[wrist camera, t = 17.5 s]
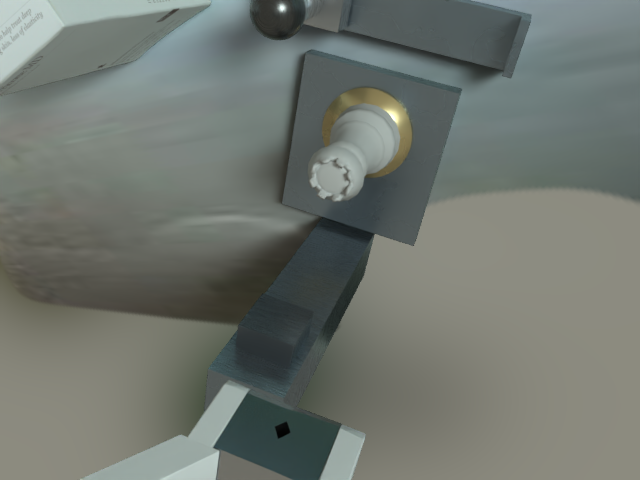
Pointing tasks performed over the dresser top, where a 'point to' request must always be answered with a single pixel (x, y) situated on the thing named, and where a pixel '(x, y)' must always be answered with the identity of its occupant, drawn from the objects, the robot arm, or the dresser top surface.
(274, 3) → the lever
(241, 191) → the dresser top surface
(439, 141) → the press
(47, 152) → the dresser top surface
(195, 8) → the skincare box
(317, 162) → the rook chess piece
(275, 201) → the dresser top surface
